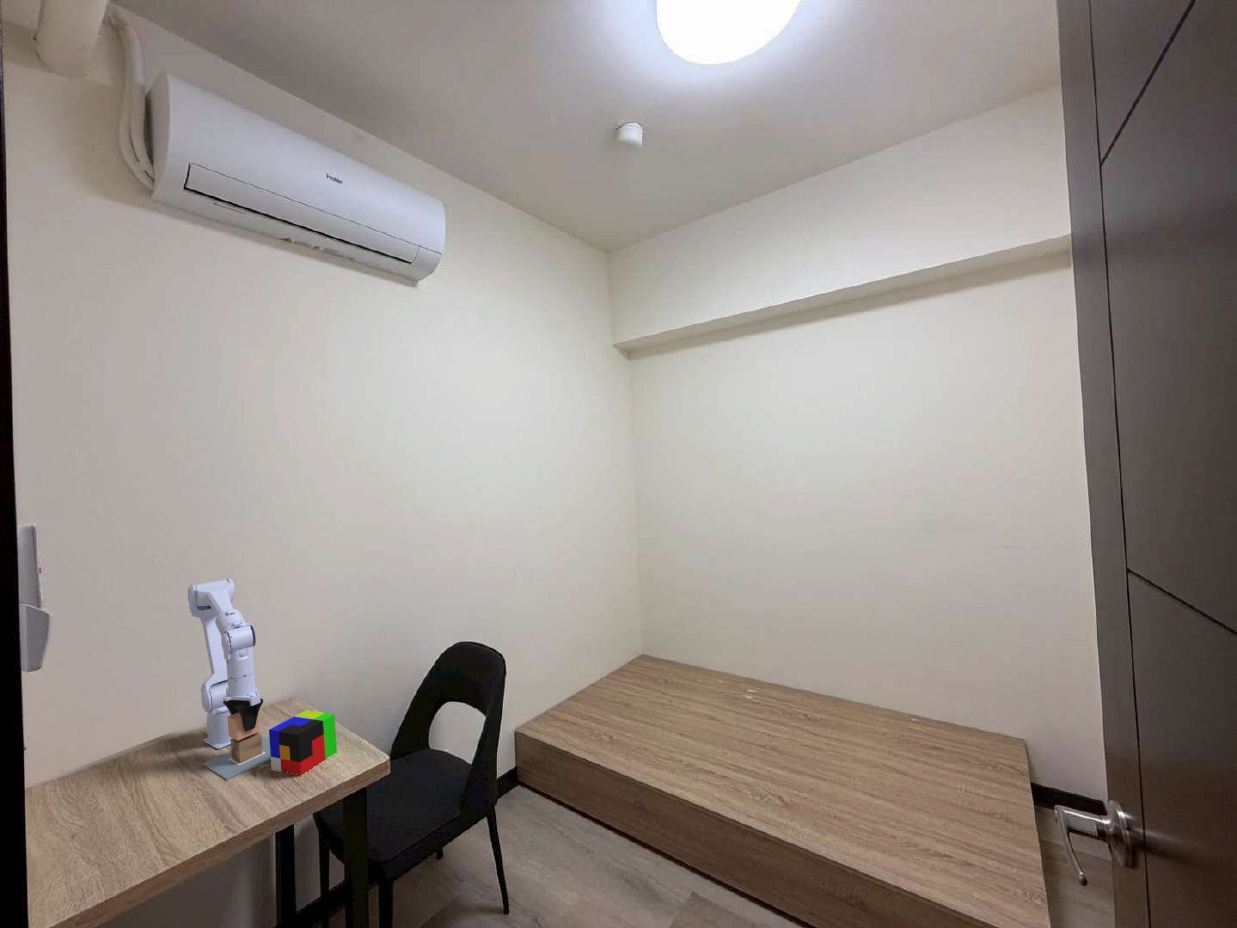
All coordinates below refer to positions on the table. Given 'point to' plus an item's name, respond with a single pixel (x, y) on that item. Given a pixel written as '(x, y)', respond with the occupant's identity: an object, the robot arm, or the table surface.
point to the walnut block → (246, 747)
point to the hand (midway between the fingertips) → (245, 726)
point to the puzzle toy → (302, 742)
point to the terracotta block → (240, 727)
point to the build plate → (231, 767)
